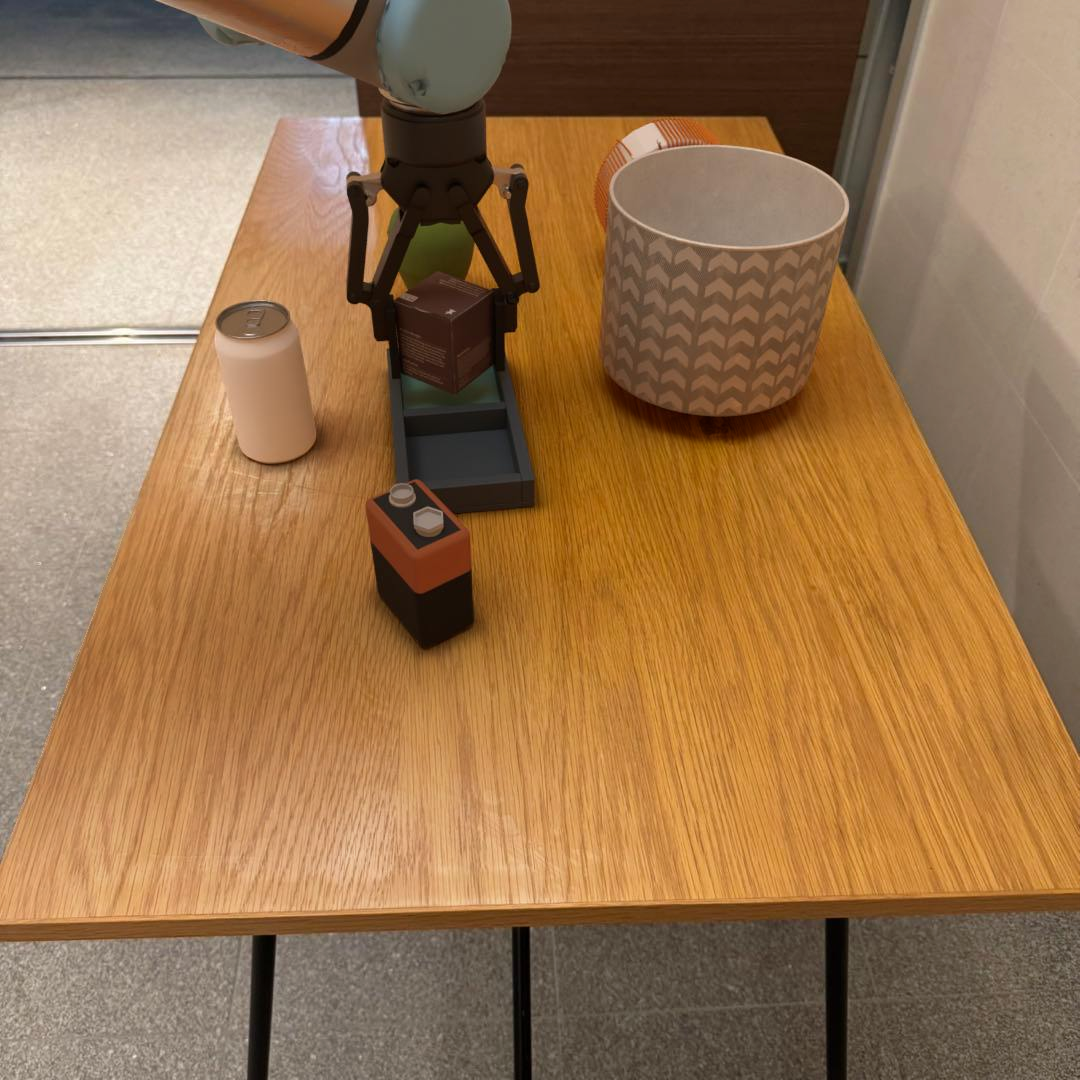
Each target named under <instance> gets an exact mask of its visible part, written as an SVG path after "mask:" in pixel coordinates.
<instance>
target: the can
mask: <svg viewBox="0 0 1080 1080" xmlns="http://www.w3.org/2000/svg"><path fill="white" fill-rule="evenodd" d="M214 325H215V328H216V330H215V334H214V338H213V339H214V340H213V343H214V347H215V348H214V349H215V353H216V357H217V362H218V366H219V371H220V374H221V378H222V379H221V380H222V383H223V386H224V391H225V395H226V399H227V402H228V407H229V411H230V415H231V419H232V423H233V427H234V432H235V435H236V438H237V442H238V446H239V449H240V451H241V452H242V453H243V454H244V455H245V456H246V457H247V458H250V459H251V460H253V461H255V462H257V463H261V464H265V465H279V464H285V463H289V462H292V461H296V460H297V459H299V458H302V457H303V456H304V455H305V454H307V453H308V452H309V451H310V449H311V448H312V447H313V446H314V445H315V442H316V440H317V428H316V423H315V417H314V416H315V415H314V410H313V405H312V399H311V393H310V388H309V382H308V376H307V370H306V365H305V360H304V354H303V348H302V343H301V338H300V332H299V330H298V327H297V325H296V323H295V322H294V321H293V320H292V318H291V313H290V311H289V309H288V308H287V307H286V306H285V305H284V304H281V303H279V302H276V301H273V300H268V299H251V300H244V301H240V302H237V303H234V304H231V305H230V306H227V307H226V308H224V309H222V310H221V312H219V313H218V314H217V316H216V318H215V322H214Z"/></svg>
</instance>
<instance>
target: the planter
mask: <svg viewBox="0 0 1080 1080" xmlns="http://www.w3.org/2000/svg"><path fill="white" fill-rule="evenodd" d="M849 212H850V200H849V197H848V194H847V193H846V191H845V189H844V188H843V187H842V186H841V184H840V183H838V181H836V179H835V178H833V177H832V176H831V175H829V174H828V173H826V172H825V171H824V170H821V169H820V168H818V167H816V166H814V165H812V164H811V163H810V164H809V163H807V162H805V161H804V160H803V161H802V160H800V159H798V158H794V157H792V156H788V155H786V154H783V153H782V154H781V153H778V152H774V151H770V150H765V149H760V148H754V147H748V146H747V147H746V146H739V145H729V144H722V145H691V146H681V147H673V148H667V149H663V150H658V151H654V152H651V153H648V154H645V155H642V156H640V157H637V158H635V159H633V160H631V161H630V162H628V163H626V164H625V165H623V166H622V167H621V168H620V169H619V170H618V171H617V172H616V173H615V174H614V175H613V177H612V179H611V182H610V185H609V197H608V213H607V229H606V233H605V247H604V248H605V249H604V260H603V261H604V263H603V277H602V278H603V279H602V295H601V310H600V311H601V313H600V327H599V342H598V352H599V358H600V361H601V365H602V366H603V368H604V370H605V371H606V373H607V374H608V376H609V377H610V378H611V379H612V380H613V381H614V382H615V383H616V385H618V386H619V387H621V388H622V389H623V390H625V391H626V392H628V393H629V394H631V395H632V396H634V397H636V398H638V399H640V400H642V401H645V402H646V403H649V404H651V405H654V406H656V407H659V408H661V409H666V410H669V411H673V412H677V413H681V414H688V415H692V416H693V415H695V416H702V417H703V416H704V417H735V416H736V417H737V416H745V415H751V414H756V413H760V412H764V411H767V410H770V409H773V408H775V407H778V406H780V405H783V404H784V403H786V402H787V401H790V400H791V399H792V398H793V397H795V396H797V394H798V393H800V392H801V391H802V389H803V388H804V387H805V386H806V384H807V382H808V380H809V379H810V376H811V373H812V369H813V365H814V360H815V356H816V352H817V349H818V345H819V344H818V343H819V340H820V335H821V331H822V327H823V322H824V318H825V314H826V310H827V306H828V302H829V297H830V293H831V289H832V284H833V280H834V277H835V272H836V268H837V263H838V259H839V255H840V251H841V248H842V242H843V239H844V234H845V230H846V225H847V222H848V217H849Z"/></svg>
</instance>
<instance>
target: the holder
mask: <svg viewBox="0 0 1080 1080" xmlns="http://www.w3.org/2000/svg"><path fill="white" fill-rule="evenodd" d="M398 350H399V348H398ZM386 360H387V361H386V363H387V374H388V389H389V400H390V414H391V429H392V440H393V441H392V442H393V455H394V468H395V469H394V470H395V481H396V484H400V483H408V482H410V481H412V480H415V479H418V480H420V481H421V482H423V483H424V484H425V485H426V486H427V487H428V488H429V489H430V490H431V492H432V493H433V494H434V495H435V496H436V497H437V498H438V499H439V500H440V501H441V502H442V503H443V504H444V505H445V506H446V507H447V508H448V509H449V510H450V511H451V512H452V513H453V514H454V515H455V514H463V513H475V512H477V513H478V512H488V511H497V510H509V509H518V508H530V507H535V491H536V489H535V487H536V486H535V483H536V482H535V481H536V480H535V475H534V471H533V466H532V463H531V458H530V457H531V456H530V453H529V449H528V445H527V441H526V435H525V431H524V427H523V424H522V419H521V415H520V410H519V406H518V401H517V397H516V393H515V389H514V385H513V384H514V383H513V381H512V376H511V371H510V368H509V362H508V359H507V354H506V353H505V371H500V372H496V367H495V364H494V365H493V366H492V367H491V368H489V369H488V370H487V371H485V372H484V373H483V374H481V375H480V376H479V377H478V378H476V379H475V380H474V381H473V382H471V383H470V384H469V385H468V386H466V387H465V388H464V389H463V390H461V391H460V392H459V393H457V394H456V395H453V394H451V393H448V392H446V391H444V390H441V389H438V388H436V387H434V386H431V385H429V384H426V383H424V382H421V381H419V380H416V379H414V378H411V377H409V376H406V375H404V374H402V373H401V379H392V371H391V361H390V351H389V347H387V348H386ZM399 360H400V357H399ZM400 372H401V365H400Z"/></svg>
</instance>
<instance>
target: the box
mask: <svg viewBox="0 0 1080 1080" xmlns="http://www.w3.org/2000/svg"><path fill="white" fill-rule="evenodd" d="M393 302H394V307H395V318H396V328H397V339H398V348H399V357H400V365H401V373H402V374H404V375H406V376H409V377H411V378H414V379H416V380H419V381H421V382H424V383H426V384H429V385H431V386H434V387H436V388H438V389H441V390H444V391H446V392H448V393H451V394H453V395H456V394H457V393H459V392H460V391H461V390H463V389H464V388H465V387H466V386H468V385H469V384H470V383H471V382H473V381H474V380H475V379H476V378H478V377H479V376H480V375H481V374H483V373H484V372H485V371H487V370H488V369H489V368H491V367H492V366H493V365H494V364H495V355H494V354H495V352H494V304H493V290H491V289H490V288H486V287H483V286H480V285H478V284H475V283H473V282H469V281H466V280H465V281H464V280H461V279H459V278H456V277H453V276H450V275H447V274H445V273H442V272H439V271H437V272H436V273H434V274H432V275H431V276H429V277H428V278H426V279H425V280H423V281H422V282H420V283H419V284H417V285H416V286H414V287H412V288H411V289H409V290H406V291H405V292H403V293H400V295H399V296H397V297H396V298H394V301H393Z"/></svg>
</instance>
